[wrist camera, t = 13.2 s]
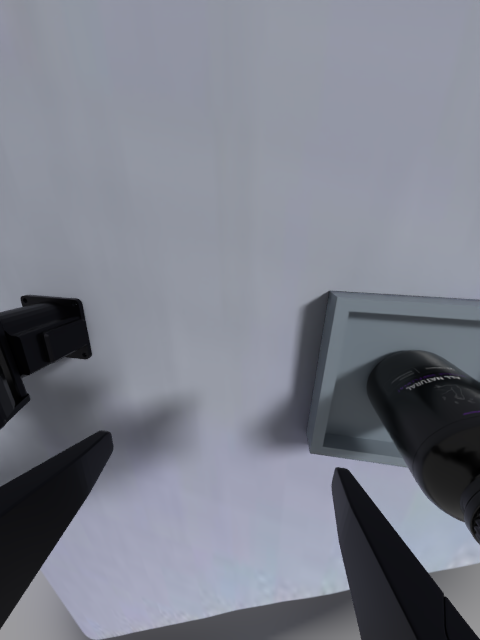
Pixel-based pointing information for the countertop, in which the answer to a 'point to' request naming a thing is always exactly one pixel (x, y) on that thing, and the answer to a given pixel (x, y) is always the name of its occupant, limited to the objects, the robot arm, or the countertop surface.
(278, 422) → the countertop surface
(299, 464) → the countertop surface
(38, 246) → the countertop surface
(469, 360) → the tray
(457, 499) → the supplement bottle
